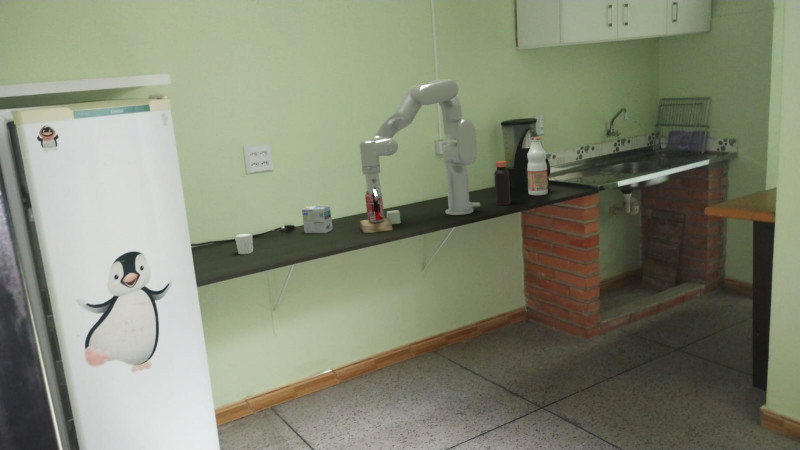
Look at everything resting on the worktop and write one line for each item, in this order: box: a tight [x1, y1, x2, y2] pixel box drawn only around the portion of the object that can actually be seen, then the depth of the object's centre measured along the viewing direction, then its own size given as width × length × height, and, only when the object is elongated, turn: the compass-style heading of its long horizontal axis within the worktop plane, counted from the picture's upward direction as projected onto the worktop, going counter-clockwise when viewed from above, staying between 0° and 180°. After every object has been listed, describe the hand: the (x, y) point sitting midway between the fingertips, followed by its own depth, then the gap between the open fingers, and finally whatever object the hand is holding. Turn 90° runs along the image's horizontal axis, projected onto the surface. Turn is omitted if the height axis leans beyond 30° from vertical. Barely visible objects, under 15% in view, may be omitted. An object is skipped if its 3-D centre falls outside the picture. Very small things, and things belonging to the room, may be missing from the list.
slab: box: [359, 217, 393, 234], centre depth 291 cm, size 12×12×3 cm
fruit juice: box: [526, 136, 549, 196], centre depth 335 cm, size 9×9×28 cm
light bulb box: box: [301, 205, 333, 234], centre depth 294 cm, size 11×7×11 cm, turn 71°
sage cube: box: [386, 209, 402, 225], centre depth 299 cm, size 5×5×5 cm
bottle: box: [494, 160, 511, 207], centre depth 318 cm, size 7×7×20 cm
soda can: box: [364, 190, 385, 223], centre depth 288 cm, size 7×7×13 cm
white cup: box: [234, 232, 254, 255], centre depth 268 cm, size 7×7×7 cm
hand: (375, 211), depth 289 cm, fingers closed on soda can, 6 cm apart
